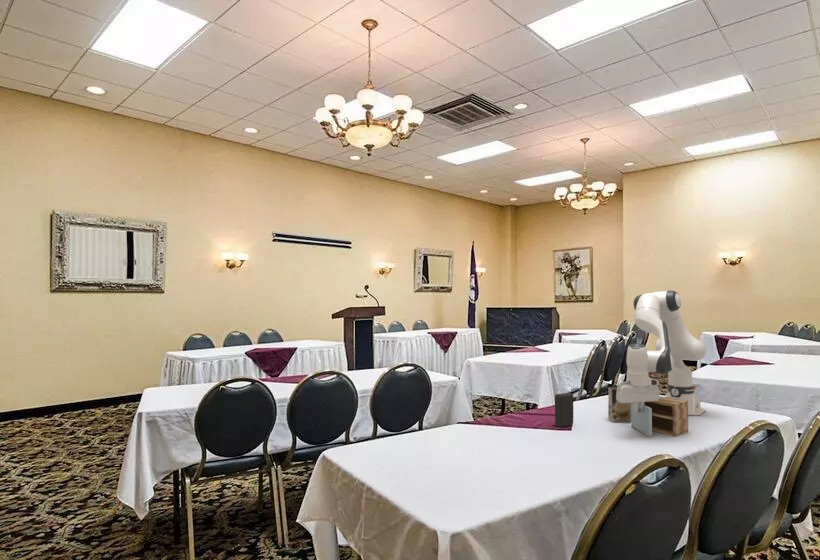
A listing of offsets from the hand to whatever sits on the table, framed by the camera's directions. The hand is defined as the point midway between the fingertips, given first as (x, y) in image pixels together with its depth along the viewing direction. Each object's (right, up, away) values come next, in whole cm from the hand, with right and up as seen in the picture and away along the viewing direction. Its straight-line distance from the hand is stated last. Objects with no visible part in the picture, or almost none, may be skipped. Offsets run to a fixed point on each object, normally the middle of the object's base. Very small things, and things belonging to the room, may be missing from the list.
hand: (637, 412), depth 218 cm
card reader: (-28, -11, +15) cm, 34 cm away
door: (+3, -9, +4) cm, 10 cm away
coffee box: (+2, -11, +24) cm, 26 cm away
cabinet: (+14, -10, +9) cm, 20 cm away
